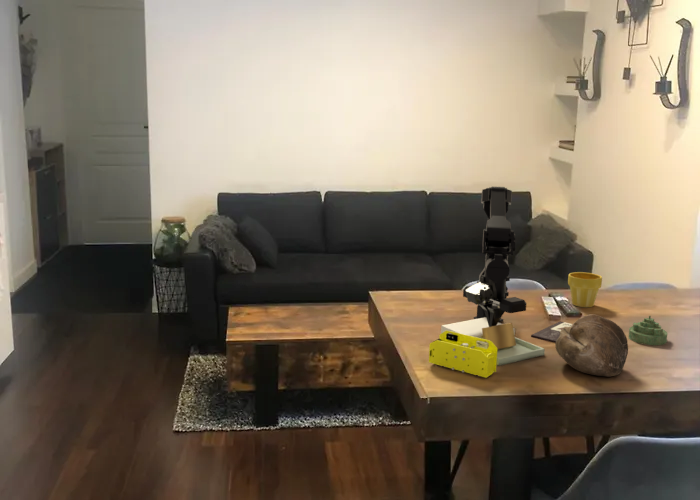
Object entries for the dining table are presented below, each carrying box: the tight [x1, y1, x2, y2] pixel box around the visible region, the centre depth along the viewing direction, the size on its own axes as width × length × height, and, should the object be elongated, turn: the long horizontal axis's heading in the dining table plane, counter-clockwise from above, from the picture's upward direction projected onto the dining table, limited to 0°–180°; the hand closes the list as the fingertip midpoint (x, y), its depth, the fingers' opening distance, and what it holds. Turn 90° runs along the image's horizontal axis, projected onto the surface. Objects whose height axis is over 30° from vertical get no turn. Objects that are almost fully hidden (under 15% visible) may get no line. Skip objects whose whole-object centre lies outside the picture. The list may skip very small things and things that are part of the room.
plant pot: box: [567, 271, 603, 308], centre depth 245 cm, size 10×10×10 cm
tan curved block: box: [482, 322, 516, 349], centre depth 201 cm, size 9×6×2 cm
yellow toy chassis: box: [428, 330, 498, 379], centre depth 186 cm, size 16×6×8 cm, turn 53°
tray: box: [496, 336, 545, 366], centre depth 199 cm, size 16×11×2 cm
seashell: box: [554, 313, 629, 378], centre depth 189 cm, size 16×17×15 cm
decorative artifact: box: [628, 315, 668, 346], centre depth 212 cm, size 10×7×10 cm
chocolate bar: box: [530, 321, 573, 344], centre depth 217 cm, size 9×1×18 cm
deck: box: [440, 317, 516, 339], centre depth 208 cm, size 16×12×4 cm
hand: (491, 329), depth 203 cm, fingers closed
